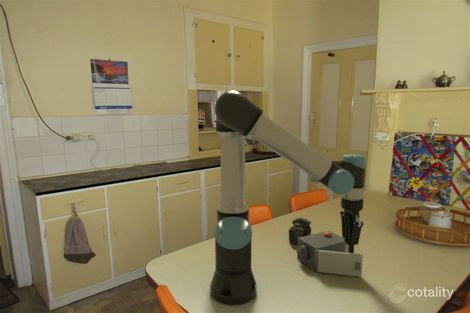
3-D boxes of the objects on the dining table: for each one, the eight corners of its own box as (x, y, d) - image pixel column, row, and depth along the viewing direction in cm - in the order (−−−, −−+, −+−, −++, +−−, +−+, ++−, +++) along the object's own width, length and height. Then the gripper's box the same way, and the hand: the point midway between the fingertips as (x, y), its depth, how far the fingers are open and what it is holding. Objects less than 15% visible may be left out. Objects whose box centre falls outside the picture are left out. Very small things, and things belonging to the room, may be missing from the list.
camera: (311, 246, 139) (312, 224, 137) (287, 244, 141) (288, 223, 139) (310, 234, 152) (311, 214, 150) (289, 233, 154) (289, 213, 152)
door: (314, 272, 116) (315, 251, 115) (314, 269, 118) (315, 249, 117) (361, 278, 113) (362, 256, 111) (360, 275, 114) (362, 254, 113)
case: (310, 271, 118) (311, 247, 116) (293, 258, 128) (293, 236, 126) (347, 261, 126) (349, 238, 124) (328, 250, 135) (329, 228, 134)
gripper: (372, 202, 109) (367, 267, 113) (353, 192, 122) (350, 251, 125) (351, 203, 108) (347, 269, 112) (334, 193, 121) (331, 252, 125)
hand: (348, 259), depth 119 cm, fingers closed
